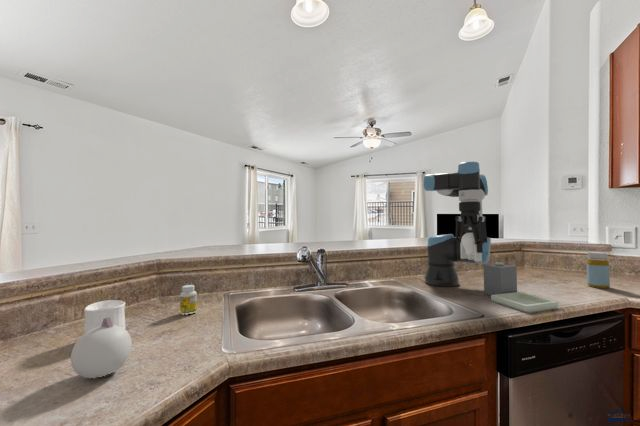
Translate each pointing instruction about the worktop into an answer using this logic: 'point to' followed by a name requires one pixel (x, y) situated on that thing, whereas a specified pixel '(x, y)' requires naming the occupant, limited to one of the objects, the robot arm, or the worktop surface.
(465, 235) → the light bulb
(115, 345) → the ornament
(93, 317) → the cup
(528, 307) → the tray
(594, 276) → the bottle
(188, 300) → the supplement bottle
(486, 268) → the box
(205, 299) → the worktop surface
